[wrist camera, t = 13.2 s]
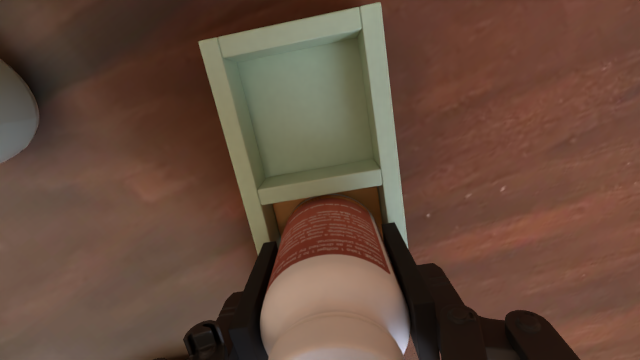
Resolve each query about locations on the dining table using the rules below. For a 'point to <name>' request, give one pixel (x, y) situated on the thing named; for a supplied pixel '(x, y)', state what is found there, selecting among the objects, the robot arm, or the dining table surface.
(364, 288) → the pill bottle
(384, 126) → the holder
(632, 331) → the dining table surface
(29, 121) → the cup
